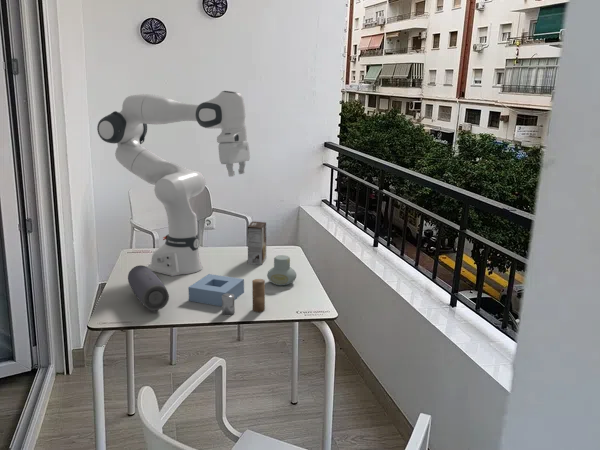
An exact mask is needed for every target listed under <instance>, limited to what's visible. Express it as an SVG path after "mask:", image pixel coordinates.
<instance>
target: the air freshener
mask: <svg viewBox="0 0 600 450" xmlns="http://www.w3.org/2000/svg"><path fill="white" fill-rule="evenodd" d="M266 276H267V279H268V281H269V282H270V283H272V284H274V285H277V286H279V287H280V286H281V287H282V286H283V287H284V286H287V285H290V284H292V283H293V282H295V280H296V278H297V272H296V271H295V269H294V268H292V267H291V258H290V256H288V255H284V254H282V255H276V256H274V258H273V267H271V268H270V269H269V270H268V271H267V273H266Z"/></svg>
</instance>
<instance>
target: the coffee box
mask: <svg viewBox="0 0 600 450" xmlns="http://www.w3.org/2000/svg"><path fill="white" fill-rule="evenodd" d="M266 259H267V222H265V221H263V222H262V221H251V222H250V223H249V225H248V226H247V265H259V266H261V265H263V264H264V262H265V261H266Z"/></svg>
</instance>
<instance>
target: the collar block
mask: <svg viewBox="0 0 600 450" xmlns="http://www.w3.org/2000/svg"><path fill="white" fill-rule="evenodd" d="M187 288H188V301H189V302H195V303H200V304H206V305H211V306H212V305H213V306H217V307H218V306H219V307H222V295H223V294H227V293H230V294H234V301H235V300H237V298H239V297H240V296H241V295H243V294H244V293H245V279H244V278H238V277H232V276H225V275H219V274H218V275H217V274H213V273H211V274H210V273H208V274H207V275H205V276H204V277H202V278H200V279H199V280H197V281H195V283H193V284H191V285H189V286H188V287H187Z"/></svg>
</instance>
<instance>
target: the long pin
mask: <svg viewBox="0 0 600 450" xmlns="http://www.w3.org/2000/svg"><path fill="white" fill-rule="evenodd" d="M251 283H252V287H251V288H252V289H251V292H252V294H251V295H252V311H253V312H255V313H263V312H264V311H266V310H265V309H266V306H265V305H266V301H265V300H266V291H265V290H266V288H265V287H266V286H265V285H266V284H265V283H266V281H265V279H262V278H256V279H253V280H252V282H251Z"/></svg>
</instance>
